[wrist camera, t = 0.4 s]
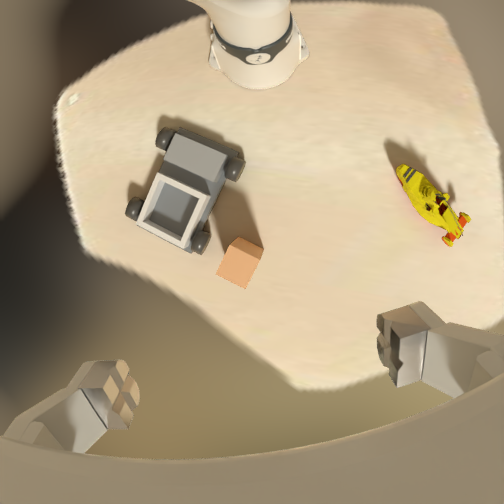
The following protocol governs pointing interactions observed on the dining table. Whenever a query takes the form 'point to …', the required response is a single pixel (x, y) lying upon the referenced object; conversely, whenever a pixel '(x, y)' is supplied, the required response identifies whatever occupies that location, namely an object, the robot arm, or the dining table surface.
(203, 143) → the chassis
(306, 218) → the dining table surface
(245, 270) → the block
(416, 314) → the robot arm
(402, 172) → the toy boat
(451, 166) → the dining table surface
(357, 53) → the dining table surface
